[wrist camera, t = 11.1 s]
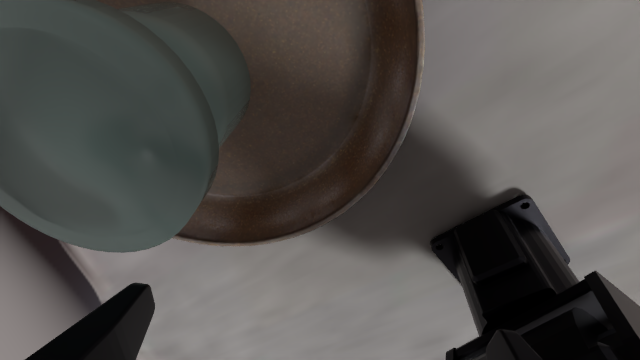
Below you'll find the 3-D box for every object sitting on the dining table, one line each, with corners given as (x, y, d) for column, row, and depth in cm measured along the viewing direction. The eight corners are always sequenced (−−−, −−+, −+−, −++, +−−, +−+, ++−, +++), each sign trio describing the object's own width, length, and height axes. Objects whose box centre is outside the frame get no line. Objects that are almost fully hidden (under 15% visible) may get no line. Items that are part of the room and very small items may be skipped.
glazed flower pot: (298, 98, 15) (256, 183, 9) (189, 177, 18) (102, 282, 12) (173, -63, 12) (1, -91, 7) (68, 59, 15) (-120, 116, 9)
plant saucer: (354, 242, 24) (354, 280, 21) (51, 182, 23) (9, 212, 20) (490, -162, 13) (529, -195, 10) (-82, -306, 12) (-211, -386, 9)
